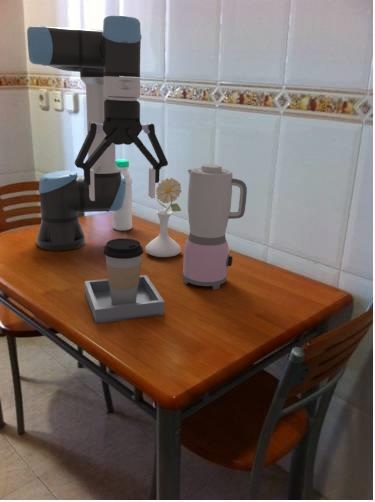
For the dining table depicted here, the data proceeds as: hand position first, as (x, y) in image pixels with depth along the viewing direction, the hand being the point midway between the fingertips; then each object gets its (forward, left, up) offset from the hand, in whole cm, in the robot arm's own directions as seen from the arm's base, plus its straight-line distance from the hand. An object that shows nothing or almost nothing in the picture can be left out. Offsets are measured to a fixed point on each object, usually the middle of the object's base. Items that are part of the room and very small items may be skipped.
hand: (122, 198), depth 103 cm
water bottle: (-60, +13, -27) cm, 67 cm away
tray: (0, 0, -27) cm, 27 cm away
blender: (-7, +26, -27) cm, 38 cm away
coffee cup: (0, 0, -26) cm, 26 cm away
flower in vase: (-30, +20, -27) cm, 45 cm away
